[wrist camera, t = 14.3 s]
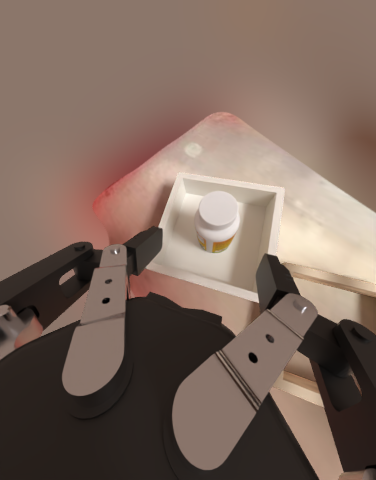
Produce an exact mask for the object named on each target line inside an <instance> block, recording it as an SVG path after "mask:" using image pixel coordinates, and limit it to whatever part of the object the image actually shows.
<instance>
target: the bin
mask: <svg viewBox="0 0 376 480" xmlns="http://www.w3.org/2000/svg"><path fill="white" fill-rule="evenodd" d="M214 191H224V192H227V193H229V194H231V195H232V196H233V197H234V198H235V199H236V201H237V203H238V213H239V217H240V224H239V227H238V230H237V232H236V234H235V236H234V238H233V240H232V242H231V244H230V245H229V247H228V248H227V249H226V250H225V251H223V252H220V253H209V252H207V251H205V250H204V249H203V248H202V247H201V246H200V244H199V242H198V238H197V234H196V229H195V223H194V218H195V214H196V211H197V210H198V208H199V203H200V201H201V200H202V198H203V197H204V196H205V195H207V194H208V193H211V192H214ZM284 194H285V188H283V187H276V186H270V185H263V184H256V183H249V182H242V181H236V180H229V179H222V178H215V177H208V176H202V175H195V174H188V173H181V172H178V175H177V177H176V180H175V183H174V186H173V188H172V191H171V194H170V196H169V199H168V202H167V205H166V207H165V210H164V213H163V215H162V218H161V221H160V224H159V226H158V227H159V228H162V229H163V244H162V249H161V251H160V252H159V253H158V254H157V255H156V257H155V258H154V259H153V260H152V261H151V262H150V263H149V264H148V265H147V266H146V268H145V269H148V270H152V271H155V272H158V273H161V274H165V275H168V276H171V277H175V278H178V279H181V280H185V281H188V282H191V283H194V284H198V285H201V286H204V287H208V288H211V289H214V290H217V291H221V292H224V293H227V294H231V295H234V296H237V297H241V298H244V299H247V300H250V301H254V302H257V303H259V299H258V292H257V285H256V272H257V269H258V267H259V264H260V262H261V260H262V257H263V255H264V254H265V253H266V254H270V255H275V256H276V254H277V247H278V239H279V232H280V224H281V216H282V209H283V201H284Z"/></svg>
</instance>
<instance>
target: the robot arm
mask: <svg viewBox="0 0 376 480" xmlns="http://www.w3.org/2000/svg"><path fill="white" fill-rule="evenodd" d="M162 244H163V229H162V228H159V227H155V226H153V227H151V228H150V229H148V230H146V231H143V232H140V233H139V234H137V235H136V236H134V237H133V238H131V239H130V240H128V241H127V242H126V243H124V244H123V245H121V244H114V245H110V246H108V247H106V248H105V249H104V250H95V249H93V246H92V244H91V243H89V242H78V243H74V244H72V245H70V246H68V247H66V248H64V249H62V250H60V251H58V252H56V253H54V254H53V255H50V256H49V257H47V258H45V259H43V260H41V261H39V262H37V263H35V264H33V265H31V266H30V267H27V268H26V269H24V270H22V271H20V272H18V273H16V274H14V275H12V276H10V277H8V278H7V279H5V280H3V281H1V282H0V480H319V478H318V476H317V474H316V473H315V471H314V469H313V468H312V466H311V464H310V462H309V461H308V459H307V457H306V455H305V454H304V452H303V450H302V448H301V447H300V445H299V443H298V441H297V440H296V438H295V436H294V434H293V433H292V431H291V429H290V427H289V426H288V424H287V422H286V420H285V419H284V417H283V415H282V414H281V412H280V410H279V408H278V407H277V405H276V403H275V401H274V400H273V398H272V396H271V394H270V393H269V391H270V389H271V388H272V386H273V385H274V383H275V382H276V380H277V379H278V377H279V375H280V374H281V372H282V371H283V369H284V368H285V366H286V365H287V363H288V362H289V360H290V359H291V357H292V356H293V354H294V353H295V351H296V350H297V351H299V352H300V353H302V354H303V355H305V356H306V357H308V358H309V359H310V363H311V366H312V369H313V372H314V376H315V379H316V382H317V386H318V389H319V392H320V395H321V399H322V402H323V405H324V409H325V412H326V415H327V418H328V422H329V425H330V428H331V432H332V435H333V438H334V442H335V445H336V448H337V451H338V455H339V458H340V461H341V465H342V468H343V471H344V473H342V474H341V475H340V476H339V479H338V480H376V335H375V334H374V333H372V332H371V331H370V330H368V329H367V328H365V327H364V326H362V325H360V324H359V323H356V322H354V321H351V320H347V319H343V320H341V321H340V322H339V323H338V324H336V323H334V322H332V321H330V320H328V319H326V318H324V317H322V316H321V315H319V314H318V312H317V309H316V308H315V306H314V305H313V304H312V303H311V302H310V301H309V300H307V299H306V298H304V297H302V296H301V295H300V293H299V291H298V289H297V286H296V284H295V282H294V280H293V278H292V277H291V274H290V271H289V270H288V269H287V268H286V267H285V266H284V265H282V264H280V262H279V260H278V257H277V256H275V255H270V254H266V253H265V254H264V255H263V257H262V260H261V262H260V264H259V267H258V269H257V272H256V285H257V292H258V299H259V306H260V313H261V315H260V316H259V317H257V318H256V319H255V320H254V321H253V322H252V323H251V324H250V325H248V326H247V327H246V328H245V329H244V330H243V331H242V332H241V333H240V334H238V335H237V336H235V335H234V333H233V332H232V331H231V330H230V329H228V328H227V327H226V326H225V325H223V324H222V323H221V322H222V316H219V315H216V314H213V313H210V312H207V311H204V310H198V309H188V308H182V307H180V306H179V305H177V304H176V303H174V302H173V301H171V300H170V299H168V298H166V297H164V296H161V295H158V294H155V293H152V292H149V294H148V295H147V297H135V298H131V296H130V275H131V274H133V275H136V276H138V275H139V274H140V273H141V272H142V271H143V270H144V269H145V268H146V266H147V265H148V264H149V263H150V262H151V261H152V260H153V259H154V258H155V257H156V255H157V254H158V253H159V252H160V251H161V249H162ZM71 269H74V272H75V275H74V276H72V277H71V278H70V279H68V280H67V281H66V282H64V283H63V284H62V285H59V280H60V278H61V277H62V276H63V275H64V274H65V273H67V272H68V271H70V270H71ZM87 290H89V292H88V295H87V300H86V303H85V307H84V311H83V315H82V319H81V320H78V321H76V322H74V323H71V324H69V325H67V326H65V327H62V328H60V329H58V330H55V331H53V332H51V333H48V334H46V335H44V336H41V334H42V331H43V330H45V329H46V328H47V327H48V326H49V325H50V324H51V323H52V322H53V321H54V320H56V319H57V318H58V317H59V316H60V315H61V314H62V313H63V312H64V311H65V310H66V309H68V308H69V307H70V306H71V305H72V304H73V303H74V302H75V301H76V300H77V299H79V298H80V297H81V296H82V295H83V294H84V293H85V292H86V291H87ZM40 336H41V337H40ZM353 373H354V375H355V377H356V379H357V381H358V383H359V385H360V388H361V391H362V396H361V394H360V392H359V390H358V388H357V386H356V384H355V382H354V380H353V378H352V376H351V374H353Z"/></svg>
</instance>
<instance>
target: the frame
mask: <svg viewBox="0 0 376 480" xmlns="http://www.w3.org/2000/svg"><path fill="white" fill-rule="evenodd" d="M282 265H284V266H285V267H286V268H287V269H288V270H289V271H290V274H291V277H292V278H293V277H297V278H301V279H305V280H309V281H312V282H316V283H320V284H324V285H328V286H332V287H336V288H340V289H344V290H347V291H351V292H355V293H359V294H363V295H367V296H371V297H375V298H376V284H373V283H369V282H365V281H361V280H357V279H353V278H348V277H344V276H340V275H336V274H332V273H328V272H324V271H319V270H315V269H311V268H307V267H303V266H299V265H295V264H290V263H282ZM272 387H274V388H277V389H279V390H282V391H284V392H287V393H289V394H292V395H294V396H296V397H299V398H301V399H304V400H306V401H309V402H311V403H314V404H316V405H319V406H321V407H324V405H323V402H322V399H321V395H320V392H319V389H318V386H317V383H316V382H313V381H311V380H308V379H305V378H303V377H300V376H297V375H295V374H292V373H289V372H287V371H284V369H283V371H282V372H281V374H280V375H279V377H278V379H277V380H276V382H275V383H274V385H273V386H272Z"/></svg>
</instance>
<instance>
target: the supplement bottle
mask: <svg viewBox="0 0 376 480" xmlns="http://www.w3.org/2000/svg"><path fill="white" fill-rule="evenodd" d="M194 223H195V229H196V234H197V238H198V242H199V244H200V246H201V247H202V248H203V249H204V250H205V251H207V252H209V253H220V252H223V251H225V250H226V249H227V248H228V247H229V245H230V244H231V242H232V240H233V238H234V236H235V234H236V232H237V230H238V227H239V224H240V217H239V213H238V203H237V201H236V199H235V198H234V197H233V196H232V195H231V194H229V193H227V192H224V191H214V192H211V193H208V194H207V195H205V196H204V197H203V198H202V200H201V201H200V203H199V208H198V210H197V211H196V214H195V218H194Z"/></svg>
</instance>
